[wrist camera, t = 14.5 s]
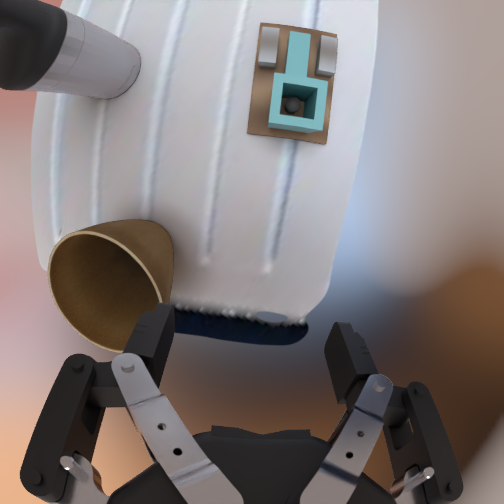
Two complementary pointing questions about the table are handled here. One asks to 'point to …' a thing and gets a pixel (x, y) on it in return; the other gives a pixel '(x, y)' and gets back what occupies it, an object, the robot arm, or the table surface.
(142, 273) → the plant pot
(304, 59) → the link
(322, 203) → the table surface
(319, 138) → the base
